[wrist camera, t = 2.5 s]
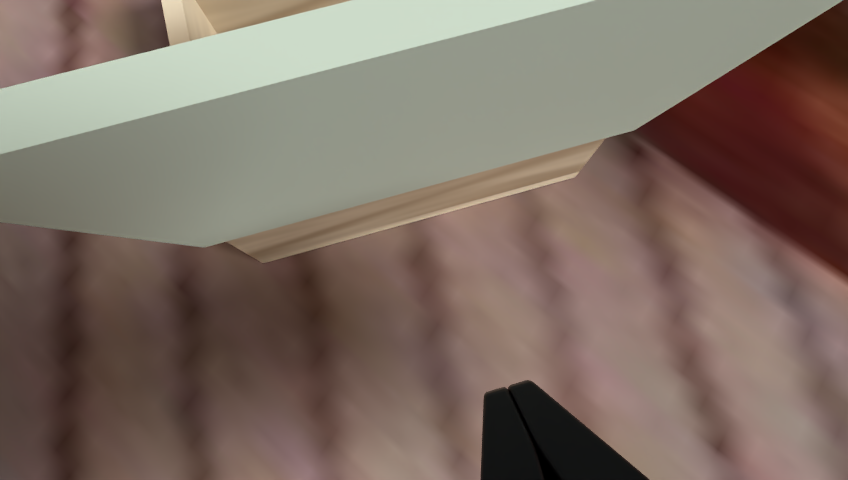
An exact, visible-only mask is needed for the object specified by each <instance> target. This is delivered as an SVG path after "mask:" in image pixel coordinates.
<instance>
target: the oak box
mask: <svg viewBox="0 0 848 480" xmlns="http://www.w3.org/2000/svg"><path fill="white" fill-rule="evenodd" d="M347 1H351V0H161V2H162V7H163V12H164V17H165V23H166V28H167V33H168V38H169V44H170V46H172V45H176V44H180V43H184V42H188V41H192V40H196V39H200V38H204V37H208V36H212V35H216V34H220V33H224V32H228V31H232V30H236V29H240V28H244V27H248V26H252V25H256V24H260V23H264V22H268V21H272V20H276V19H280V18H283V17H287V16H291V15H295V14H299V13H303V12H307V11H311V10H315V9H319V8H323V7H327V6H331V5H335V4H339V3H343V2H347ZM604 140H605V138H604V139H600V140H597V141H593V142H589V143H586V144H582V145H578V146H575V147H571V148H567V149H564V150H560V151H556V152H553V153H549V154H545V155H542V156H538V157H534V158H531V159H527V160H523V161H520V162H516V163H512V164H509V165H505V166H501V167H498V168H494V169H490V170H487V171H483V172H479V173H476V174H472V175H468V176H465V177H461V178H457V179H454V180H450V181H446V182H443V183H439V184H435V185H432V186H428V187H424V188H421V189H417V190H413V191H410V192H406V193H402V194H399V195H395V196H391V197H388V198H384V199H380V200H377V201H373V202H369V203H366V204H362V205H358V206H355V207H351V208H347V209H344V210H340V211H336V212H333V213H329V214H325V215H322V216H318V217H314V218H311V219H307V220H303V221H300V222H296V223H292V224H289V225H285V226H282V227H278V228H274V229H271V230H267V231H263V232H260V233H256V234H252V235H249V236H245V237H241V238H238V239H234V240H230V241H227V243H229V244H231V245H233V246H234V247H236V248H238V249H239V250H241V251H243V252H244V253H246V254H248V255H249V256H251V257H253V258H255V259H256V260H258V261H260V262H261V263H266V262H270V261H273V260H277V259H281V258H284V257H288V256H292V255H295V254H299V253H302V252H306V251H310V250H313V249H317V248H321V247H324V246H328V245H331V244H335V243H339V242H342V241H346V240H350V239H353V238H357V237H360V236H364V235H368V234H371V233H375V232H379V231H382V230H386V229H389V228H393V227H397V226H400V225H404V224H407V223H411V222H415V221H418V220H422V219H426V218H429V217H433V216H436V215H440V214H444V213H447V212H451V211H455V210H458V209H462V208H465V207H469V206H473V205H476V204H480V203H484V202H487V201H491V200H494V199H498V198H502V197H505V196H509V195H513V194H516V193H520V192H523V191H527V190H531V189H534V188H538V187H541V186H545V185H549V184H552V183H556V182H560V181H563V180H567V179H570V178H574V177H576V175H577V174H578V173H579V172H580V170H581V169H582V168H583V166H584V165H585V164H586V163H587V161H588V160H589V159H590V157H591V156H592V155H593V154H594V152H595V151H596V150H597V148H598V147H599V146H600V145H601V143H602V142H603V141H604Z"/></svg>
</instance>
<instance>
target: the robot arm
mask: <svg viewBox="0 0 848 480" xmlns="http://www.w3.org/2000/svg"><path fill="white" fill-rule="evenodd" d="M481 480H649V479H648V478H647V477H646V476H645V475H643V474H642V473H641V472H640V471H639V470H637V469H636V468H635V467H634V466H633V465H631V464H630V463H629V462H628V461H627V460H625V459H624V458H623V457H622V456H621V455H620V454H618V453H617V452H616V451H615V450H614V449H612V448H611V447H610V446H609V445H608V444H606V443H605V442H604V441H603V440H602V439H600V438H599V437H598V436H597V435H596V434H594V433H593V432H592V431H591V430H590V429H589V428H587V427H586V426H585V425H584V424H583V423H581V422H580V421H579V420H578V419H577V418H575V417H574V416H573V415H572V414H571V413H569V412H568V411H567V410H566V409H565V408H563V407H562V406H561V405H560V404H559V403H558V402H556V401H555V400H554V399H553V398H552V397H550V396H549V395H548V394H547V393H546V392H544V391H543V390H542V389H541V388H540V387H538V386H537V385H536V384H535V383H534V382H532V381H529V380H526V381H522V382H519V383H516V384H512V385H510V386H509V387H508V389H507V388H505V387H502V388H499V389H495V390H492V391H489V392H486V393H485V395H484V406H483V432H482V458H481Z"/></svg>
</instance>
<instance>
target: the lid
mask: <svg viewBox="0 0 848 480" xmlns="http://www.w3.org/2000/svg"><path fill="white" fill-rule="evenodd" d="M841 1H843V0H351V1H347V2H343V3H339V4H335V5H331V6H327V7H323V8H319V9H315V10H311V11H307V12H303V13H299V14H295V15H291V16H287V17H283V18H280V19H276V20H272V21H268V22H264V23H260V24H256V25H252V26H248V27H244V28H240V29H236V30H232V31H228V32H224V33H220V34H216V35H212V36H208V37H204V38H200V39H196V40H192V41H188V42H184V43H180V44H176V45H172V46H169V47H165V48H161V49H157V50H153V51H149V52H145V53H141V54H137V55H133V56H129V57H125V58H121V59H117V60H113V61H109V62H105V63H101V64H97V65H93V66H89V67H85V68H81V69H77V70H73V71H69V72H65V73H61V74H57V75H54V76H50V77H46V78H42V79H38V80H34V81H30V82H26V83H22V84H18V85H14V86H10V87H6V88H2V89H0V222H2V223H10V224H18V225H26V226H35V227H43V228H51V229H59V230H67V231H75V232H83V233H91V234H99V235H107V236H115V237H123V238H131V239H140V240H148V241H156V242H164V243H172V244H180V245H188V246H196V247H204V248H205V247H208V246H212V245H216V244H219V243H223V242H227V241H230V240H234V239H238V238H241V237H245V236H249V235H252V234H256V233H260V232H263V231H267V230H271V229H274V228H278V227H282V226H285V225H289V224H292V223H296V222H300V221H303V220H307V219H311V218H314V217H318V216H322V215H325V214H329V213H333V212H336V211H340V210H344V209H347V208H351V207H355V206H358V205H362V204H366V203H369V202H373V201H377V200H380V199H384V198H388V197H391V196H395V195H399V194H402V193H406V192H410V191H413V190H417V189H421V188H424V187H428V186H432V185H435V184H439V183H443V182H446V181H450V180H454V179H457V178H461V177H465V176H468V175H472V174H476V173H479V172H483V171H487V170H490V169H494V168H498V167H501V166H505V165H509V164H512V163H516V162H520V161H523V160H527V159H531V158H534V157H538V156H542V155H545V154H549V153H553V152H556V151H560V150H564V149H567V148H571V147H575V146H578V145H582V144H586V143H589V142H593V141H597V140H600V139H604V138H608V137H611V136H615V135H619V134H622V133H626V132H630V131H633V130H635V129H637V128H639V127H640V126H642V125H643V124H645V123H647V122H648V121H650V120H652V119H653V118H655V117H656V116H658V115H660V114H661V113H663V112H664V111H666V110H668V109H669V108H671V107H672V106H674V105H676V104H677V103H679V102H680V101H682V100H684V99H685V98H687V97H688V96H690V95H692V94H693V93H695V92H697V91H698V90H700V89H701V88H703V87H705V86H706V85H708V84H709V83H711V82H713V81H714V80H716V79H717V78H719V77H721V76H722V75H724V74H725V73H727V72H729V71H730V70H732V69H734V68H735V67H737V66H738V65H740V64H742V63H743V62H745V61H746V60H748V59H750V58H751V57H753V56H754V55H756V54H758V53H759V52H761V51H762V50H764V49H766V48H767V47H769V46H770V45H772V44H774V43H775V42H777V41H779V40H780V39H782V38H783V37H785V36H787V35H788V34H790V33H791V32H793V31H795V30H796V29H798V28H799V27H801V26H803V25H804V24H806V23H807V22H809V21H811V20H812V19H814V18H815V17H817V16H819V15H820V14H822V13H824V12H825V11H827V10H828V9H830V8H832V7H833V6H835V5H836V4H838V3H840V2H841Z"/></svg>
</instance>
